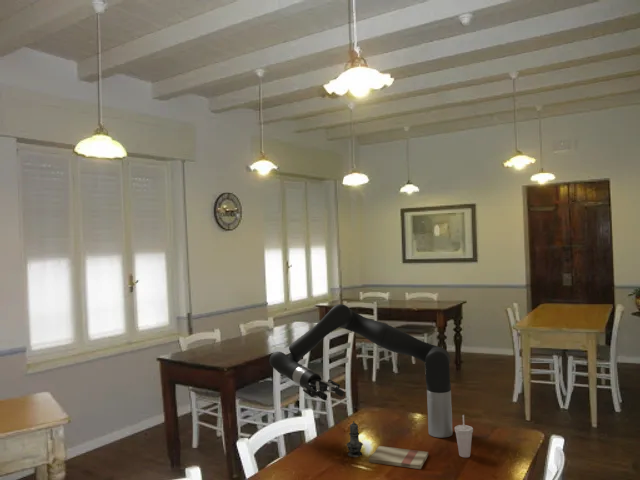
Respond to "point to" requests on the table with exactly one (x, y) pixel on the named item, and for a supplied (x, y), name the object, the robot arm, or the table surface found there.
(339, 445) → the table surface
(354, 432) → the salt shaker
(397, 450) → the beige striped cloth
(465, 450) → the smoothie
